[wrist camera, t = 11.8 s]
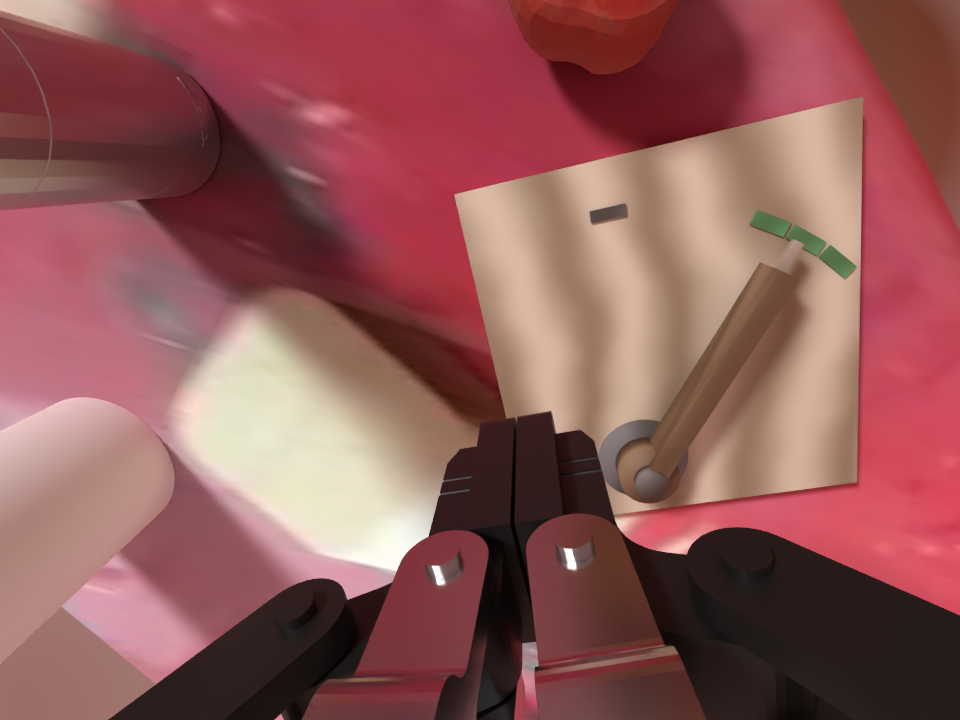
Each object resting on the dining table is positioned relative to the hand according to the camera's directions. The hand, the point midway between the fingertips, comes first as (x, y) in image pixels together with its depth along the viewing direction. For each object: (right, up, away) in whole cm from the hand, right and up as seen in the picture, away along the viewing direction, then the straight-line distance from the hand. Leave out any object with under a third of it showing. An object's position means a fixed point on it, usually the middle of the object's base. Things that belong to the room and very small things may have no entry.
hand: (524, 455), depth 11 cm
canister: (-36, -8, +37) cm, 52 cm away
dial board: (+13, +3, +28) cm, 32 cm away
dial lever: (+15, +1, +27) cm, 31 cm away
